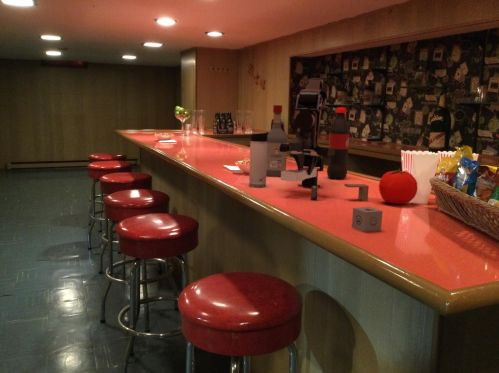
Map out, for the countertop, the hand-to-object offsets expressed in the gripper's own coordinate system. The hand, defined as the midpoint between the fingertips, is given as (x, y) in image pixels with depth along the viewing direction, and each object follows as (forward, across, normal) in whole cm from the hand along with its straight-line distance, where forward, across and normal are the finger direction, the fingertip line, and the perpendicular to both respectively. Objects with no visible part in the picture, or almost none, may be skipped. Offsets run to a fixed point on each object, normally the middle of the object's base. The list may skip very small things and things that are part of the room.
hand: (304, 174), depth 158 cm
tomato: (+7, +30, +7) cm, 31 cm away
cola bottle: (+7, -8, +42) cm, 43 cm away
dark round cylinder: (+7, +8, -7) cm, 13 cm away
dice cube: (+7, +35, -30) cm, 47 cm away
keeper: (+7, +18, +3) cm, 19 cm away
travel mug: (+7, -20, +1) cm, 21 cm away
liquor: (+7, -31, +29) cm, 43 cm away
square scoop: (+1, 0, -3) cm, 3 cm away
